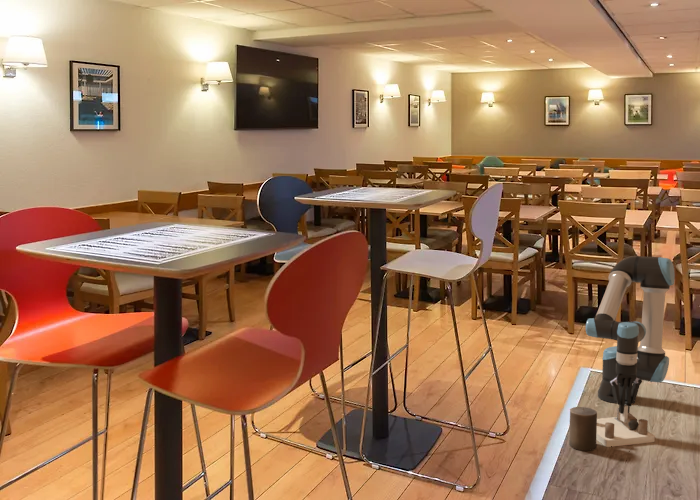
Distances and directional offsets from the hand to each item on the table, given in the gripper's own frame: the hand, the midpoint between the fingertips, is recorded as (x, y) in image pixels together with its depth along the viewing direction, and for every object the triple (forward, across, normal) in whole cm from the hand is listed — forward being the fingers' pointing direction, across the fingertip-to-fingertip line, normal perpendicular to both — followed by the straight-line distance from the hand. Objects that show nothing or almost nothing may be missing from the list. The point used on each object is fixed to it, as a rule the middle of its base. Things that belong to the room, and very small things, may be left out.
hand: (623, 420), depth 257 cm
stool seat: (+5, -4, 0) cm, 6 cm away
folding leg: (+2, +3, +2) cm, 4 cm away
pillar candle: (+6, -21, -7) cm, 23 cm away
